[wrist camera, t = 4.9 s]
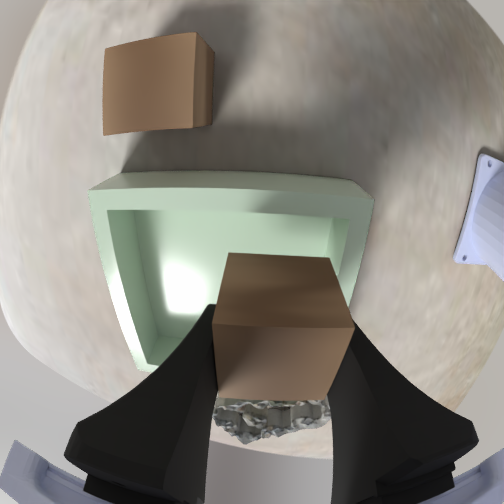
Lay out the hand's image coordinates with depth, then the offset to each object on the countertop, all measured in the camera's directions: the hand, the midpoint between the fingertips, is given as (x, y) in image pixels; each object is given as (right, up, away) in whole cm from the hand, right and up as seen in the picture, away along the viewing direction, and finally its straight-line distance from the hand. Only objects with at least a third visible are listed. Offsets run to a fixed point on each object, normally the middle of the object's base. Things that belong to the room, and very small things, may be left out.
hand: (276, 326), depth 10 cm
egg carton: (+1, -11, +14) cm, 18 cm away
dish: (-2, +1, +7) cm, 7 cm away
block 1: (-5, +11, +1) cm, 12 cm away
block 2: (0, +1, +1) cm, 2 cm away
